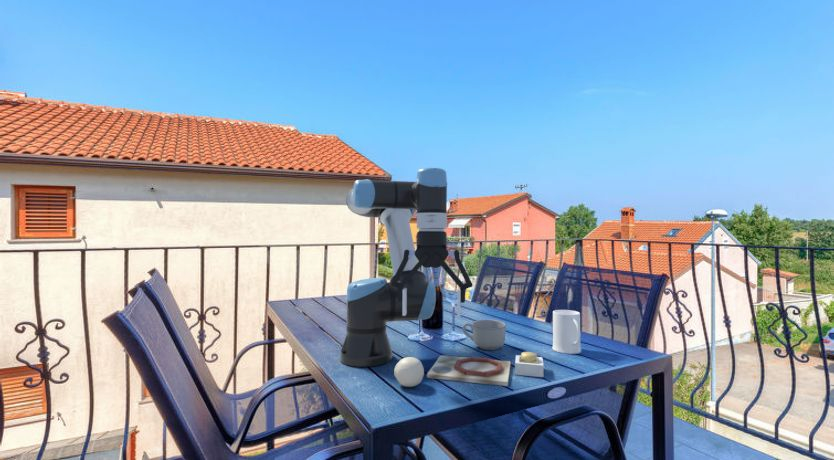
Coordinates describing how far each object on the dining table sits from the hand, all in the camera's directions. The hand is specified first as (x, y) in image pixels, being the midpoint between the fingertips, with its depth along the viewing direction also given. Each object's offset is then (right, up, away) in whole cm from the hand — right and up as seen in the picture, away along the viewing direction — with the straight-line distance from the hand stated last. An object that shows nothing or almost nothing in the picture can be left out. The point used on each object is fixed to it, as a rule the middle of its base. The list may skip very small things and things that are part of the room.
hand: (431, 315), depth 96 cm
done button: (+26, -13, +6) cm, 30 cm away
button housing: (+26, -16, +6) cm, 31 cm away
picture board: (+11, -16, +6) cm, 20 cm away
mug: (+44, -17, +24) cm, 53 cm away
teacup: (+18, -17, +29) cm, 38 cm away
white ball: (-6, -16, -4) cm, 18 cm away
